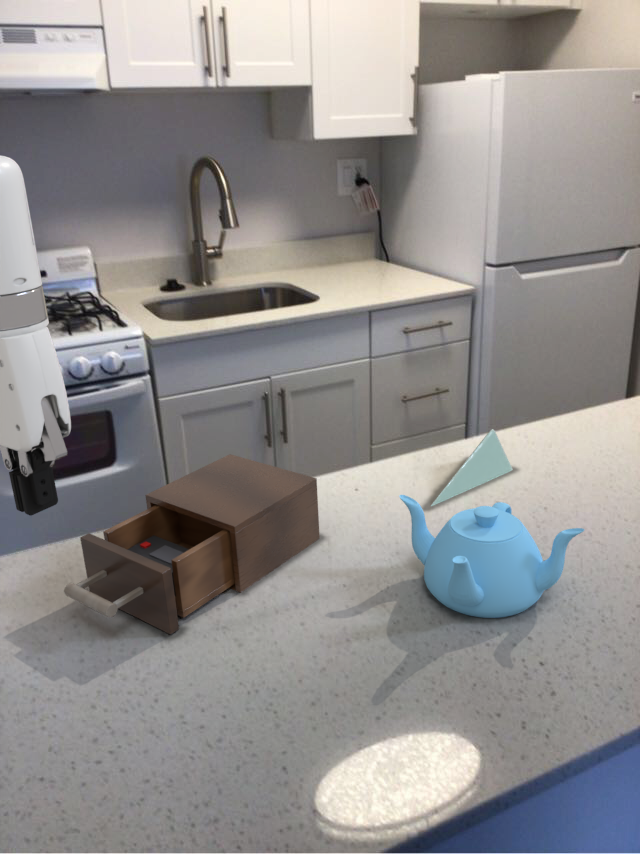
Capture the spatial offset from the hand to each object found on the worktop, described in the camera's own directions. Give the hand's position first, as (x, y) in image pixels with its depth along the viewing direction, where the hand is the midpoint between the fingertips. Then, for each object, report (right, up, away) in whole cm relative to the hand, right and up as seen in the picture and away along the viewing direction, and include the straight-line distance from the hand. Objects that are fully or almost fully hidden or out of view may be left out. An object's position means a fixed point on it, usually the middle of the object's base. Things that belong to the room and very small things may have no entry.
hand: (38, 507), depth 70 cm
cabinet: (+16, -8, +24) cm, 30 cm away
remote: (+9, -10, +16) cm, 21 cm away
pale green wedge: (+48, -2, +38) cm, 61 cm away
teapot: (+44, -11, +13) cm, 47 cm away
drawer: (+8, -11, +15) cm, 20 cm away
